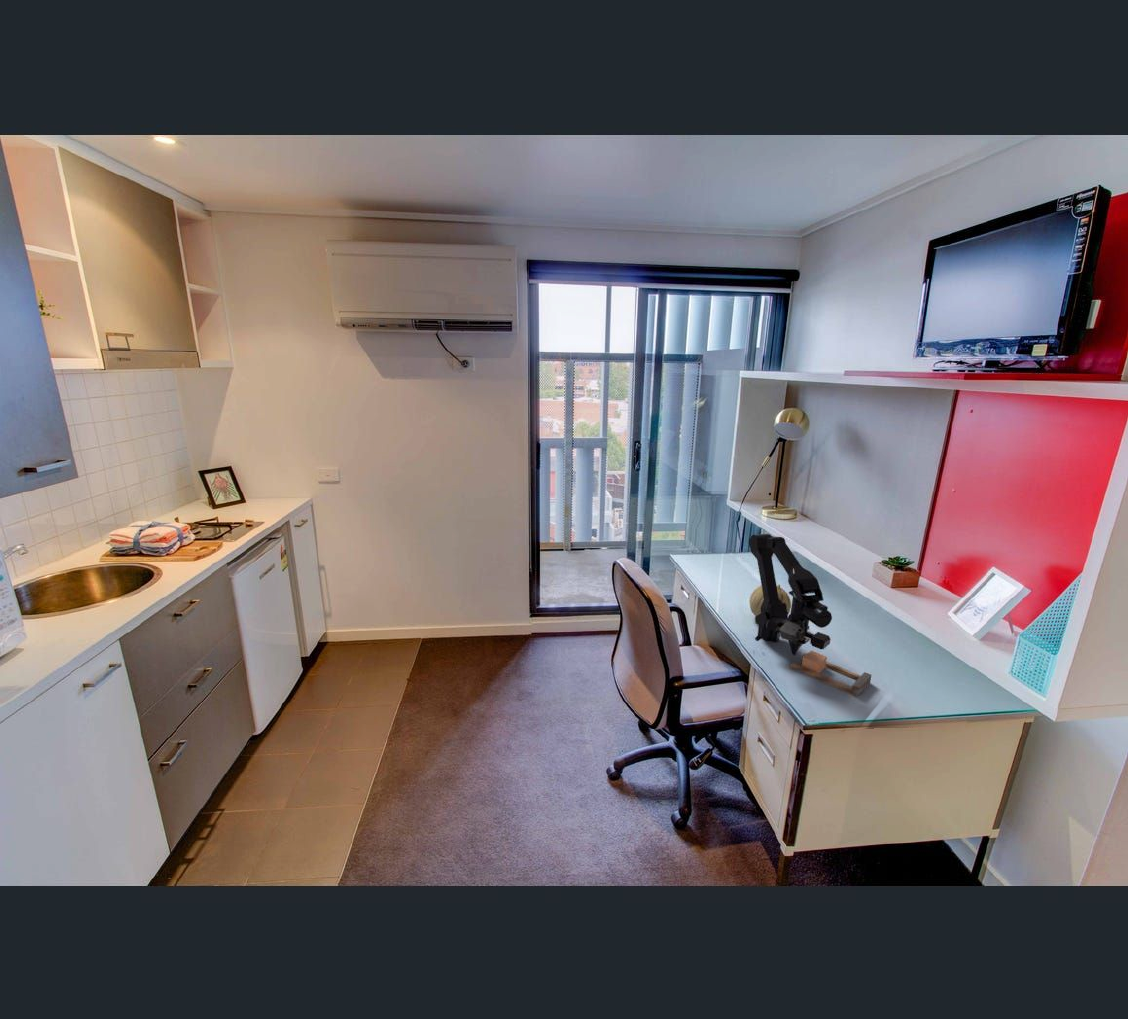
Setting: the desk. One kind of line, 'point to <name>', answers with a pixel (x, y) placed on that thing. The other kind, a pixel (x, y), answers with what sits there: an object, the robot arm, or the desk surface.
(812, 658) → the block
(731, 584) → the desk surface
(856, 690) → the channel
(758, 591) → the cantaloupe
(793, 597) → the robot arm
